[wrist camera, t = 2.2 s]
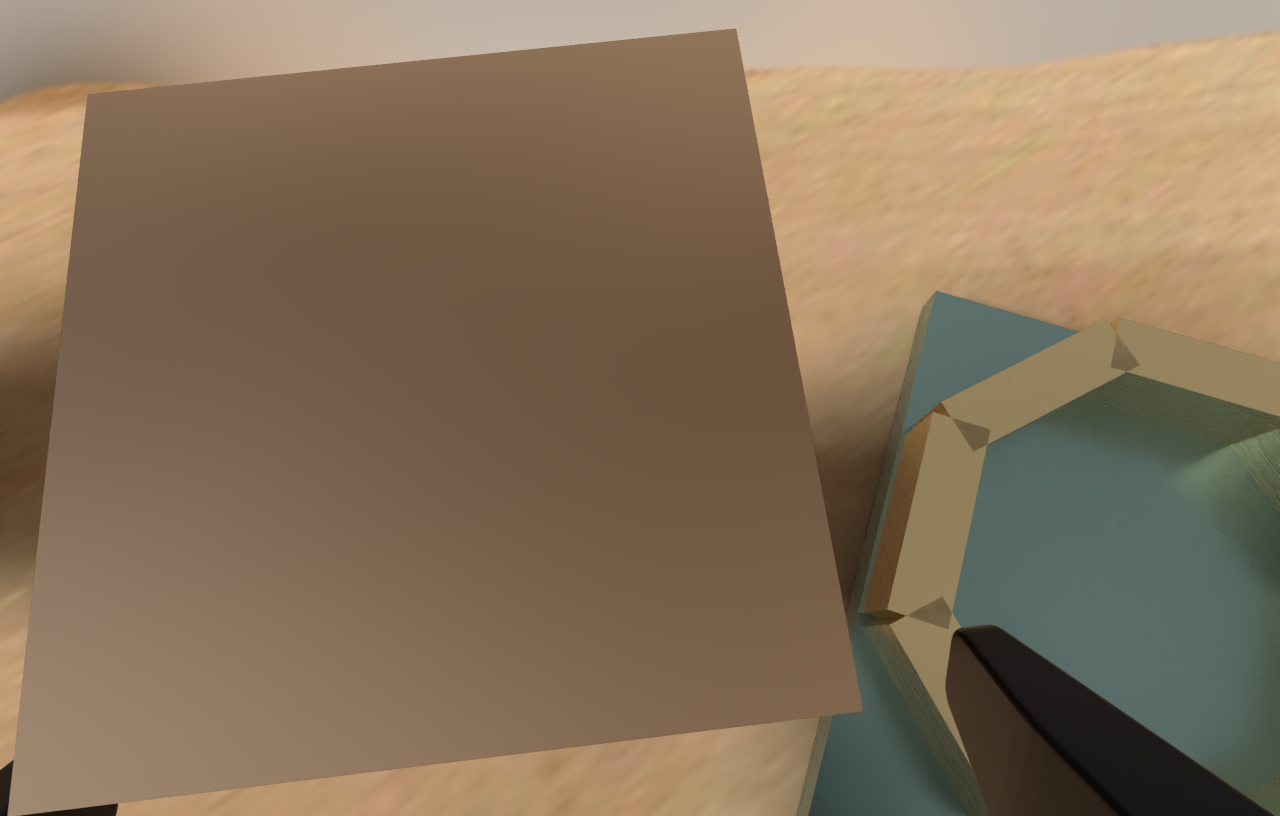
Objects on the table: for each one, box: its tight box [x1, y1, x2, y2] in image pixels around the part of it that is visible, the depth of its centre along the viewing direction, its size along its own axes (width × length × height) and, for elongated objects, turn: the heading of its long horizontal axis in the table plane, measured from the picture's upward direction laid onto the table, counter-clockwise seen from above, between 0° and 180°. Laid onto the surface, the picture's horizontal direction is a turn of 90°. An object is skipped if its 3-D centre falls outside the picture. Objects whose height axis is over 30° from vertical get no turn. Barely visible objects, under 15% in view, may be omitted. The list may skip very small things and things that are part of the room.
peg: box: [8, 29, 863, 816], centre depth 12 cm, size 5×5×14 cm
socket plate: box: [797, 291, 1280, 816], centre depth 15 cm, size 18×15×3 cm
